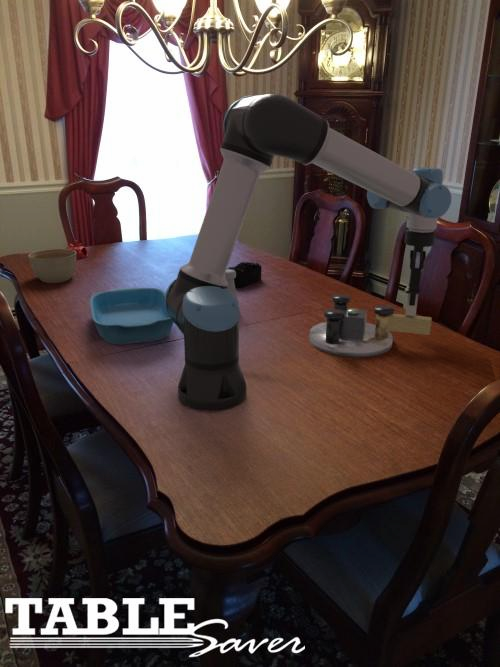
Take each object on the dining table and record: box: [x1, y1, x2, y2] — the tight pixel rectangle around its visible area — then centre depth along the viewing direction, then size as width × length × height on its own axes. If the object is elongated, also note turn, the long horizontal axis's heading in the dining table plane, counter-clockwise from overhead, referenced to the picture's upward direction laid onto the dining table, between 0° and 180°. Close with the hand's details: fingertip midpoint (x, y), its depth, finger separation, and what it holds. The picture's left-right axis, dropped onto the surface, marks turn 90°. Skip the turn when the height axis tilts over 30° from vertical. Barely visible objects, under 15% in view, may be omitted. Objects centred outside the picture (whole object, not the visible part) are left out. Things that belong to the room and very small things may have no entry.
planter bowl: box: [28, 248, 77, 284], centre depth 198 cm, size 16×16×11 cm
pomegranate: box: [64, 239, 89, 260], centre depth 227 cm, size 10×10×9 cm
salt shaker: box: [225, 268, 238, 298], centre depth 170 cm, size 6×6×13 cm
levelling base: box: [309, 293, 394, 358], centre depth 148 cm, size 22×22×10 cm
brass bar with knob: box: [373, 304, 432, 339], centre depth 144 cm, size 15×5×8 cm, turn 74°
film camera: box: [227, 261, 262, 290], centre depth 198 cm, size 15×10×9 cm, turn 141°
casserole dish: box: [89, 286, 174, 345], centre depth 158 cm, size 37×22×7 cm, turn 17°
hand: (410, 315), depth 152 cm, fingers closed
